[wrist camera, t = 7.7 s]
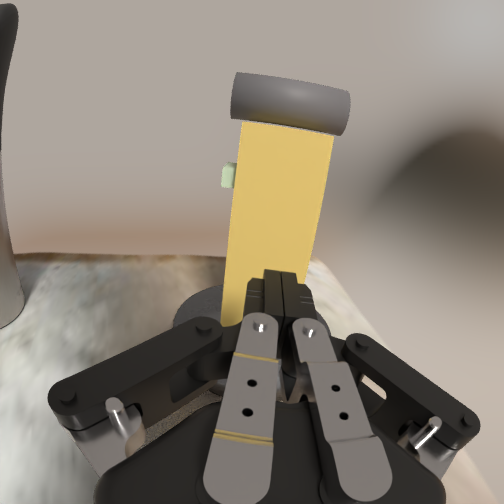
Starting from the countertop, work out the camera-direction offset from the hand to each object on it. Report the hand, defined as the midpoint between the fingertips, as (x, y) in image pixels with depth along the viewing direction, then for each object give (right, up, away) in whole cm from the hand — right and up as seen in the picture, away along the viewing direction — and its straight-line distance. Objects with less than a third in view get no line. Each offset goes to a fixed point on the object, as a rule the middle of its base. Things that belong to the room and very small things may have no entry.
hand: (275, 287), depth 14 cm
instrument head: (-1, -4, +12) cm, 13 cm away
